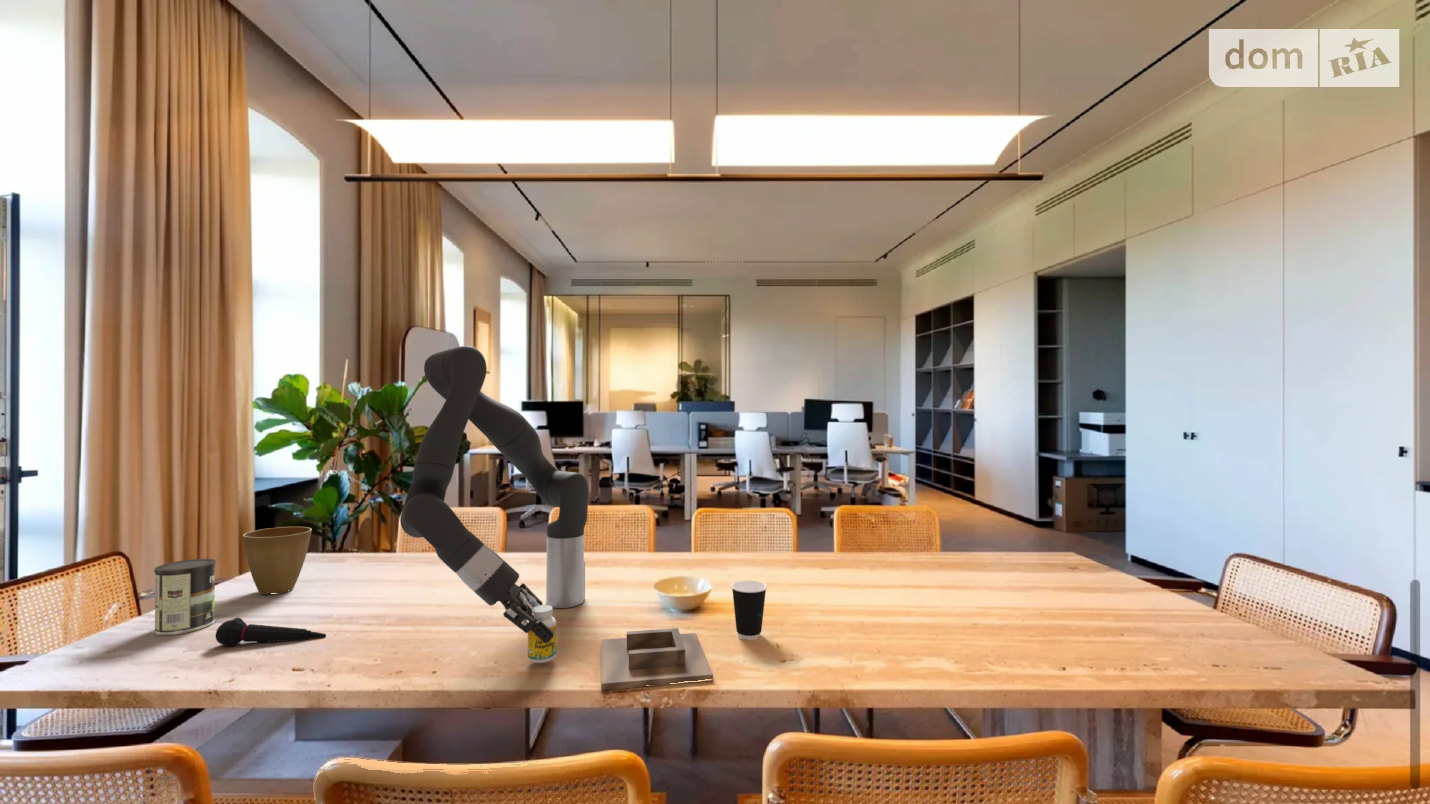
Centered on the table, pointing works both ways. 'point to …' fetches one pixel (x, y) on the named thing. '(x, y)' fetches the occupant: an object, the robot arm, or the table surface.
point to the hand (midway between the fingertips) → (551, 632)
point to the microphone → (259, 633)
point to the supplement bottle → (536, 646)
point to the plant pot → (276, 557)
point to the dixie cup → (749, 607)
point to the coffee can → (184, 596)
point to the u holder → (652, 659)
